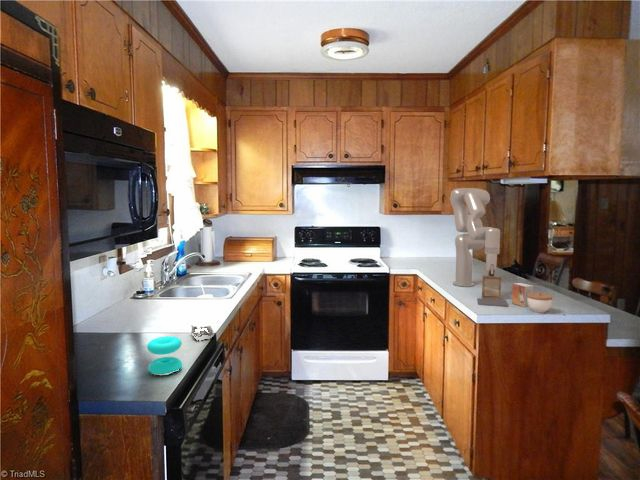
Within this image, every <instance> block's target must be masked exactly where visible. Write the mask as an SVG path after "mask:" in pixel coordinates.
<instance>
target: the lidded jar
mask: <svg viewBox="0 0 640 480" xmlns="http://www.w3.org/2000/svg"><path fill="white" fill-rule="evenodd" d="M527 303H528V306H529V307H528V308H529V309H530V310H531V312H533V313H537V314H544V313H547V312H548V311H549V310H550V309H551V307H552V304H553V295H551V294H549V293H542V292H541V291H538V292H533V293H529V294H527Z"/></svg>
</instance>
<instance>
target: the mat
mask: <svg viewBox="0 0 640 480" xmlns="http://www.w3.org/2000/svg"><path fill="white" fill-rule="evenodd" d="M477 305H479V306H488V307H489V306H490V307H491V306H493V307H502V308H503V307H504V308H505V307H507V308H508V307H509V304H508V302H507V300H505V299H500V300H495V299H482V298H480V297H479V298H477Z"/></svg>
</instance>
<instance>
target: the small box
mask: <svg viewBox="0 0 640 480" xmlns="http://www.w3.org/2000/svg"><path fill="white" fill-rule="evenodd" d="M529 293H534V285H531V284H526V283H523V282H517V283H516V282H515V283H512V293H511V296H512V297H511V304H513V305H517V306H520V307H522V308H529V306H528V303H527V294H529Z"/></svg>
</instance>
